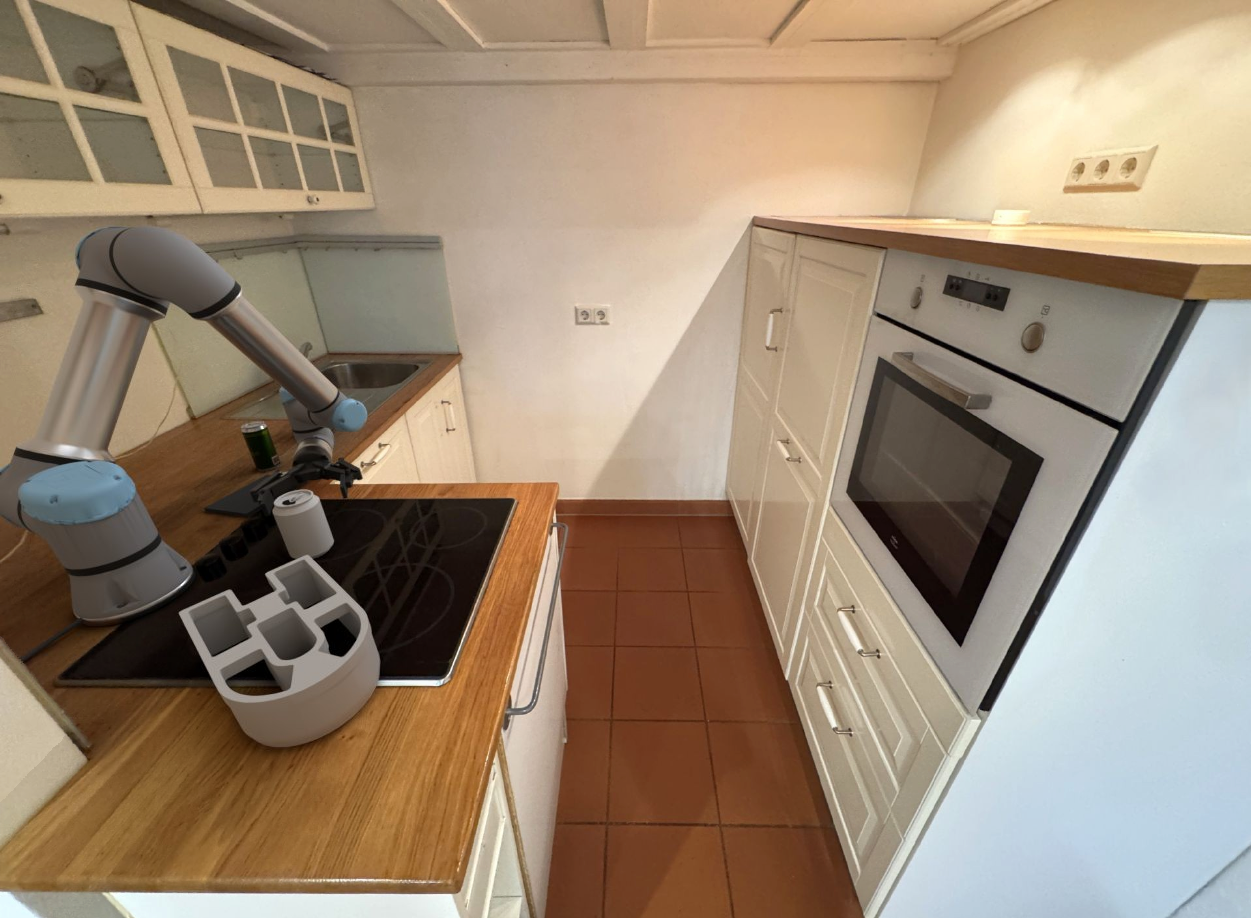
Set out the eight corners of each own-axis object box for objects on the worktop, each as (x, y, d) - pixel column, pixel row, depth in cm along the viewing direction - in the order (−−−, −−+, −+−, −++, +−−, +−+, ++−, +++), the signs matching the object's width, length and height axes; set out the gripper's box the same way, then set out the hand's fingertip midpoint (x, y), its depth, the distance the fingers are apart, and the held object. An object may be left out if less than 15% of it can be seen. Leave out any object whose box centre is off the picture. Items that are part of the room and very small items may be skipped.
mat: (247, 517, 108) (246, 513, 107) (205, 511, 110) (203, 507, 110) (307, 482, 121) (306, 478, 121) (267, 478, 124) (266, 474, 124)
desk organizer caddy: (323, 595, 84) (307, 554, 80) (406, 684, 67) (391, 637, 64) (203, 657, 73) (178, 612, 69) (267, 781, 56) (238, 731, 52)
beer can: (285, 461, 133) (269, 419, 127) (275, 470, 128) (259, 427, 122) (263, 463, 132) (246, 421, 127) (252, 473, 127) (235, 429, 122)
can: (282, 556, 94) (260, 502, 89) (319, 535, 100) (300, 483, 95) (306, 567, 91) (284, 511, 86) (343, 545, 97) (325, 491, 92)
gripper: (375, 462, 122) (378, 501, 105) (255, 486, 113) (236, 534, 95) (367, 434, 119) (369, 470, 101) (243, 457, 109) (221, 500, 92)
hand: (305, 501), depth 98 cm, fingers open, 13 cm apart
